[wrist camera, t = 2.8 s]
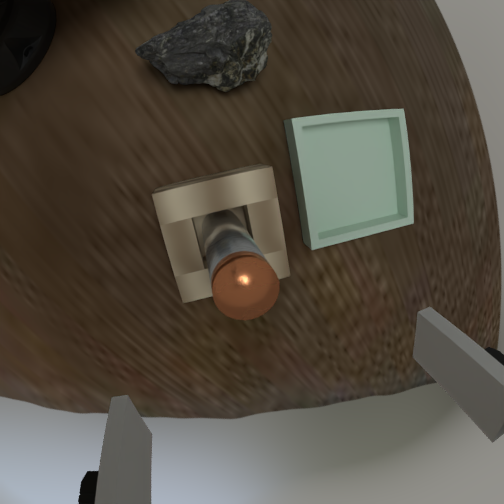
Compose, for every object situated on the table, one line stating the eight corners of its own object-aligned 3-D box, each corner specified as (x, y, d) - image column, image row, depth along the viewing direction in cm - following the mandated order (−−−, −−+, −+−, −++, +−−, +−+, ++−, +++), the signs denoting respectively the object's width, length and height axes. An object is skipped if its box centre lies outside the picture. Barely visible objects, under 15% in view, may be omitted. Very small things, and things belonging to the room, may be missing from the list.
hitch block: (183, 284, 39) (183, 303, 34) (156, 187, 34) (151, 194, 30) (278, 260, 40) (290, 275, 35) (261, 163, 36) (272, 166, 31)
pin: (206, 250, 37) (221, 326, 21) (197, 213, 35) (205, 268, 20) (243, 241, 37) (283, 310, 22) (236, 204, 36) (273, 251, 20)
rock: (248, -11, 26) (247, -17, 19) (286, 57, 32) (298, 74, 25) (154, 40, 30) (125, 53, 23) (195, 101, 36) (180, 131, 29)
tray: (303, 242, 40) (311, 250, 37) (283, 120, 34) (291, 118, 32) (401, 217, 42) (413, 223, 39) (390, 109, 36) (403, 108, 33)
